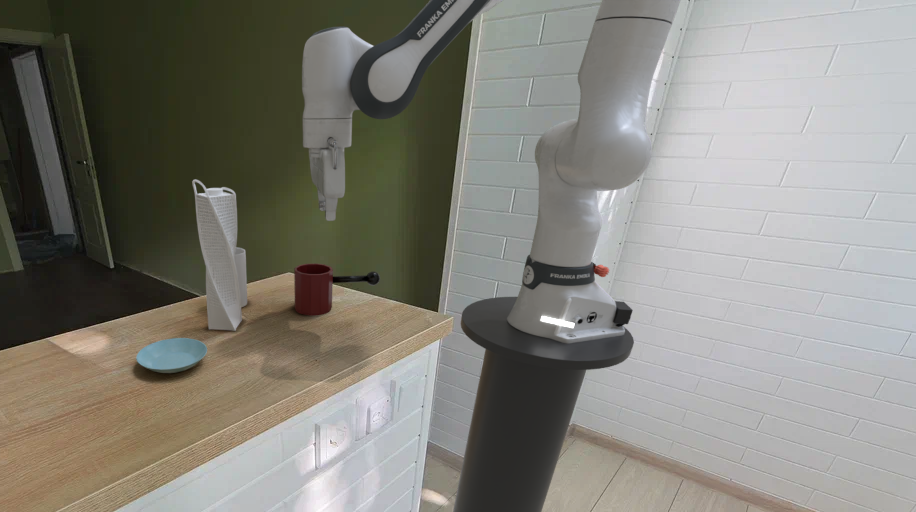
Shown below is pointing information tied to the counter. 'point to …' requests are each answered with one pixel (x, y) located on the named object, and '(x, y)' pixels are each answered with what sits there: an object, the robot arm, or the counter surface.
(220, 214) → the skyscraper
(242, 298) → the mug
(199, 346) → the saucer
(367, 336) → the counter surface
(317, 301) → the pot
